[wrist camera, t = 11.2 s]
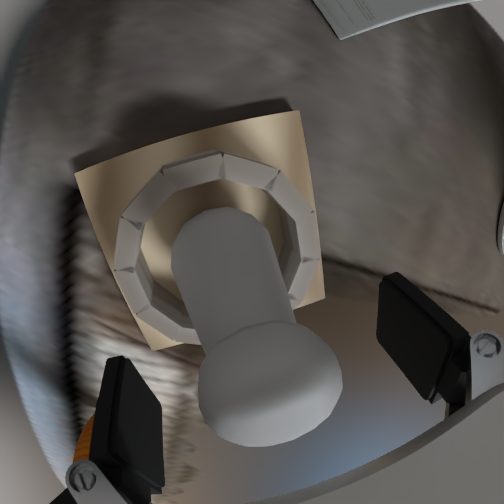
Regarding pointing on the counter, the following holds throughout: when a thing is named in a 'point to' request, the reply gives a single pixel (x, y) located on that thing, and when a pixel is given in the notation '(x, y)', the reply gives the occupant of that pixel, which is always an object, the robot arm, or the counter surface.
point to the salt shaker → (250, 334)
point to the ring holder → (196, 201)
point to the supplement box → (374, 12)
